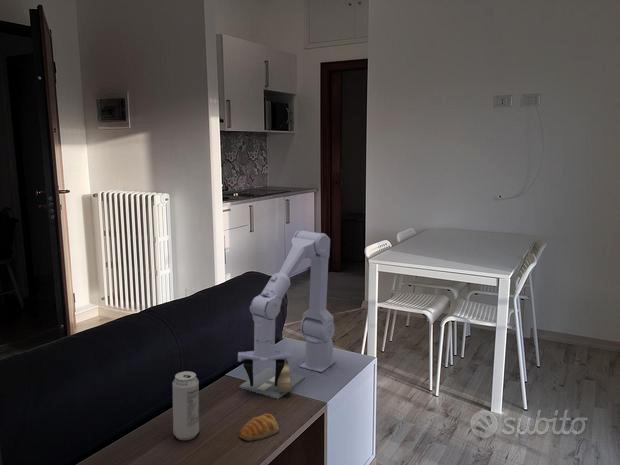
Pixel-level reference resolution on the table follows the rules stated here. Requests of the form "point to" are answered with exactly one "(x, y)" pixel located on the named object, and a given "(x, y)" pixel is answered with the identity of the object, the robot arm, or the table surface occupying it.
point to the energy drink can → (185, 405)
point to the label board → (270, 383)
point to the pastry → (259, 427)
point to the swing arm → (284, 379)
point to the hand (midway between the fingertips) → (263, 384)
